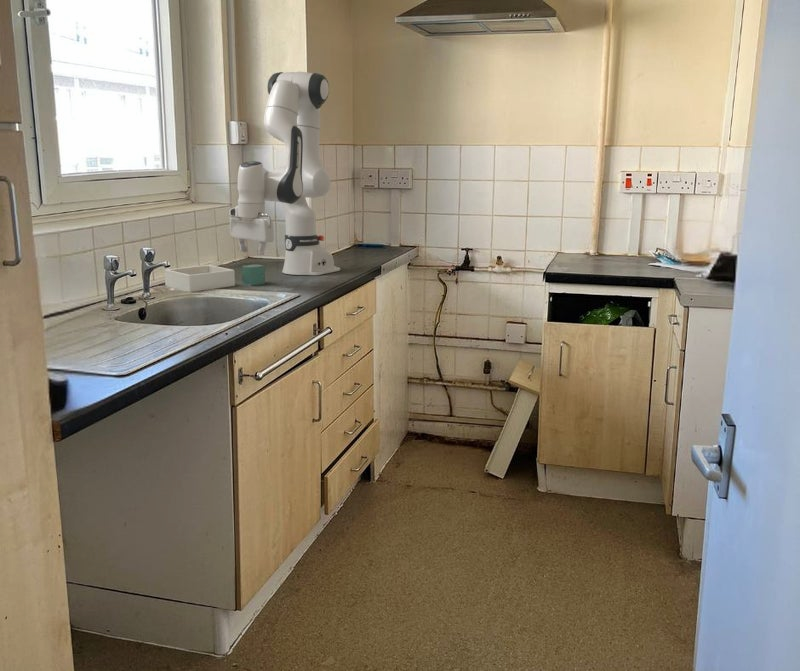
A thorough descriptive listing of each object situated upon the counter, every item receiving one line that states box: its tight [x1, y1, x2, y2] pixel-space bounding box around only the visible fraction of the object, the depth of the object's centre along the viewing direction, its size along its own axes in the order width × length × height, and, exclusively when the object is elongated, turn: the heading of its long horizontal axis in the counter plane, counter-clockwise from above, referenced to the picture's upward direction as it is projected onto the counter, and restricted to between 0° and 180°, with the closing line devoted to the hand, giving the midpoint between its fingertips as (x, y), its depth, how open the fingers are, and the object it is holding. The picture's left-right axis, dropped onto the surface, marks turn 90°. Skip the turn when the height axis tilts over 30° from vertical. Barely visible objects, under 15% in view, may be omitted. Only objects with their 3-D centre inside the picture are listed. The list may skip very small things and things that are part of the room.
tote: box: [164, 264, 236, 293], centre depth 263 cm, size 17×15×6 cm
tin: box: [241, 263, 266, 287], centre depth 267 cm, size 6×4×7 cm
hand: (252, 253), depth 265 cm, fingers open, 8 cm apart
